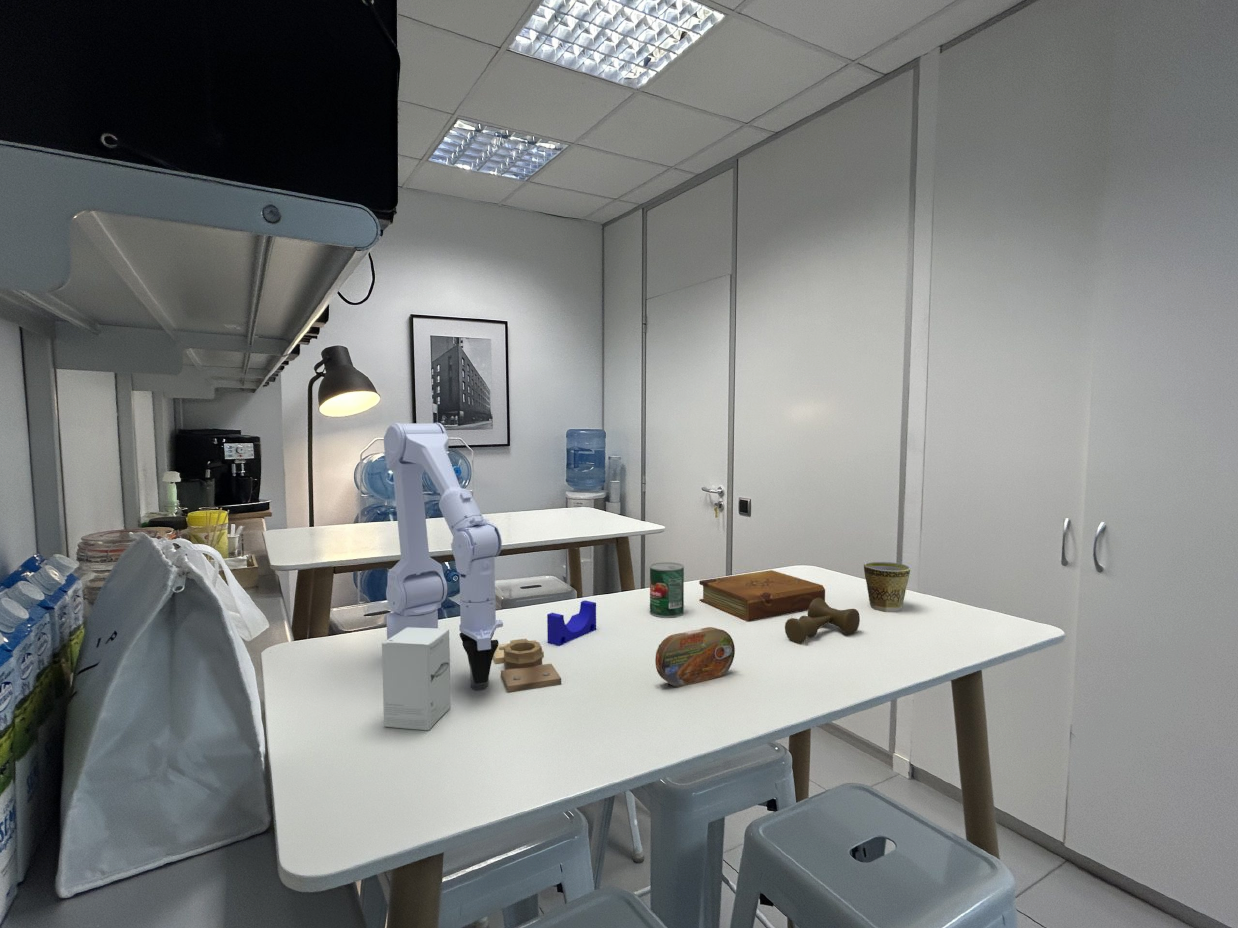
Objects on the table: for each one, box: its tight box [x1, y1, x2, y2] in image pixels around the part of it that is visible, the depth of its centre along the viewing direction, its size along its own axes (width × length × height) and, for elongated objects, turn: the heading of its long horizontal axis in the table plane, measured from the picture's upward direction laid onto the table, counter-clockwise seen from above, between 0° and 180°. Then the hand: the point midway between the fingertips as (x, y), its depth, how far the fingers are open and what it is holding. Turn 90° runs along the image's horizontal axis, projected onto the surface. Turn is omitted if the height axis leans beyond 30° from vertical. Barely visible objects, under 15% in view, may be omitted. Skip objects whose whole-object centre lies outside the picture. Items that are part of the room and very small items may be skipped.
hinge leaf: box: [492, 638, 545, 665], centre depth 115 cm, size 9×13×4 cm
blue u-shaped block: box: [546, 600, 597, 647], centre depth 128 cm, size 12×4×6 cm, turn 144°
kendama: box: [784, 598, 861, 645], centre depth 129 cm, size 6×10×20 cm
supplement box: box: [381, 627, 452, 731], centre depth 92 cm, size 7×7×13 cm
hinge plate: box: [500, 657, 562, 693], centre depth 109 cm, size 9×13×2 cm
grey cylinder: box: [469, 665, 490, 691], centre depth 103 cm, size 3×3×6 cm
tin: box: [654, 626, 736, 688], centre depth 106 cm, size 15×3×8 cm, turn 117°
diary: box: [698, 569, 826, 622], centre depth 150 cm, size 23×19×6 cm
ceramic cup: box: [863, 561, 911, 613], centre depth 147 cm, size 13×10×10 cm
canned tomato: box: [649, 561, 685, 619], centre depth 143 cm, size 8×8×11 cm
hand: (479, 678), depth 104 cm, fingers closed on grey cylinder, 3 cm apart
